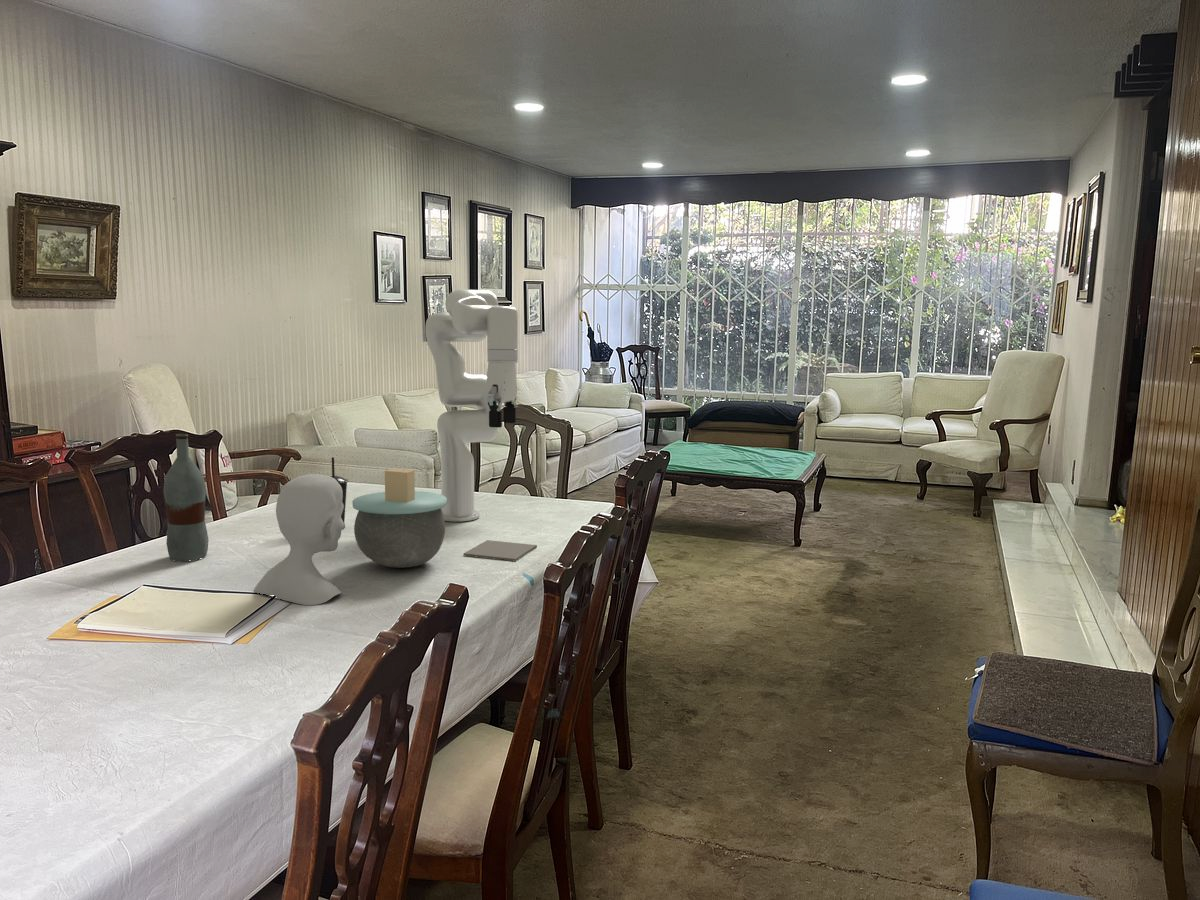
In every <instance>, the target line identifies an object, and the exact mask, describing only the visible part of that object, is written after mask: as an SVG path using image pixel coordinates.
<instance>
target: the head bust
mask: <svg viewBox="0 0 1200 900" xmlns="http://www.w3.org/2000/svg"><path fill="white" fill-rule="evenodd" d="M330 476H331V475H327V474H317V473H315V474H314V473H309V474H304V475H300V476H297V477H295V478H293V479H291V480H289V481H288V482H286V483H285V484H284V485H283V487H282V488H281V491H280V492H279V494H278V497H277V500H276V505H275V515H276V520H277V525H278V528H279V531H280V533H281V534H282V536H283V537H284V538H285V540H287V542H288V544H289V548H290V549H289V550H290V551H289V553H288V555H287V556H286V557H285V558H284V559H283V560H282V561H279V562H278V563H277V564H276V565H274V566H272V567H271V568H270V569H269V570H267V571H266V573H265V574H264V575H263V576H262V578H261V579H260V580H259V581H258V583H257V585H256V586H255V587H254V589H253V591H254V592H255V593H257V594H259V593H260V594H259V595H263V594H267V595H274V596H276V597H277V598H279V599H278V600H280V599H282V600H281V601H286V602H291V603H292V604H293V603H294V604H298V605H303V606H315V605H321V604H324V603H326V602H328V601H330V600H331V599H332V598H333V597H335V596H337V595H339V594H343V593H342V591H341V590H339V588H338V587H337V586H336V585H335V584H332V583H331V582H330V581H329V580H328V579H327V578H326V577H324V575H322V574H321V572H319V570H318V569H317V567H316V566H315V563H313V556H314V554H317V553H323V552H325V553H326V552H334V551H336V550H337V549H338V547H339V540H340V538H341V535H342V531H343V530H344V529H345V528H346V524H345V522H344V523H343V520H342V518H341V515H342V512H343V508H344V505H343V503H342V499H343V492H342V488H341V486H340V484H339V483H338V482H337V481H336V480H335V479H334V478H332V477H330ZM342 529H343V530H342Z"/></svg>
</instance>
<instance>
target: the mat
mask: <svg viewBox="0 0 1200 900" xmlns="http://www.w3.org/2000/svg"><path fill="white" fill-rule="evenodd" d="M537 547H538V545H537V544H528V543H518V542H508V541H502V540H501V541H500V540H499V541H498V540H491V539H490V540H489V539H487V540H485V541H483V542H482V543H480V544H478V545H476V546H475V547H472V548H471V549H469V550H467V551H465V552H464V553H463V556H464V555H466V556H465V557H470V556H477V557H476V558H480V557H487V558H486V559H489V558H495V559H494V560H499V559H504V560H503V561H508V560H514V561H513V562H517V561H518V560H520V559H521V558H523V557H524V555H525V554H526V555H528V554H529V553H531V552H533V551H534V550H535V549H537ZM533 549H534V550H533ZM530 551H531V552H530ZM528 552H529V553H528ZM527 553H528V554H527ZM526 555H525V556H526ZM522 556H523V557H522ZM519 558H520V559H519ZM516 560H517V561H516Z"/></svg>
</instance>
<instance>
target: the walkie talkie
mask: <svg viewBox="0 0 1200 900" xmlns="http://www.w3.org/2000/svg"><path fill="white" fill-rule="evenodd" d="M329 476H330V477H332V478H334V479H335V480H336V481H337V482H338V483H339V484H340V486H341V488H342V492H343V499H342V503H343V505H344V508H343V512H342V515H341V518H342V520H343V523H344V524H345V519H346V518H345V517H346V503H347V489H348V482H349V480H348V478H345V477H342V476H339V475H336V474H335V457H334V456H333V457H331V475H329ZM343 530H344V529H342V530H341V531H343Z"/></svg>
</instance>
